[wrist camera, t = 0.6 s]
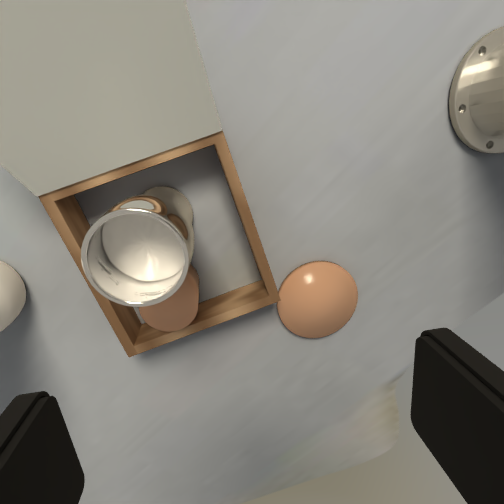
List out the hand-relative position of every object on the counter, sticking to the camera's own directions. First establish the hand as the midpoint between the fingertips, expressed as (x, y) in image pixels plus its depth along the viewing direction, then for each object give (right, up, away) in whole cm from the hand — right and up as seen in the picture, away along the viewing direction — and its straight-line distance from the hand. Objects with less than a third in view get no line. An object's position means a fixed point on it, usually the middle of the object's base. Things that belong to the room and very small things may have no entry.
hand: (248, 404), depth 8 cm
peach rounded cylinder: (-9, +1, +29) cm, 30 cm away
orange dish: (+8, -2, +32) cm, 33 cm away
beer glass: (-9, +8, +26) cm, 29 cm away
